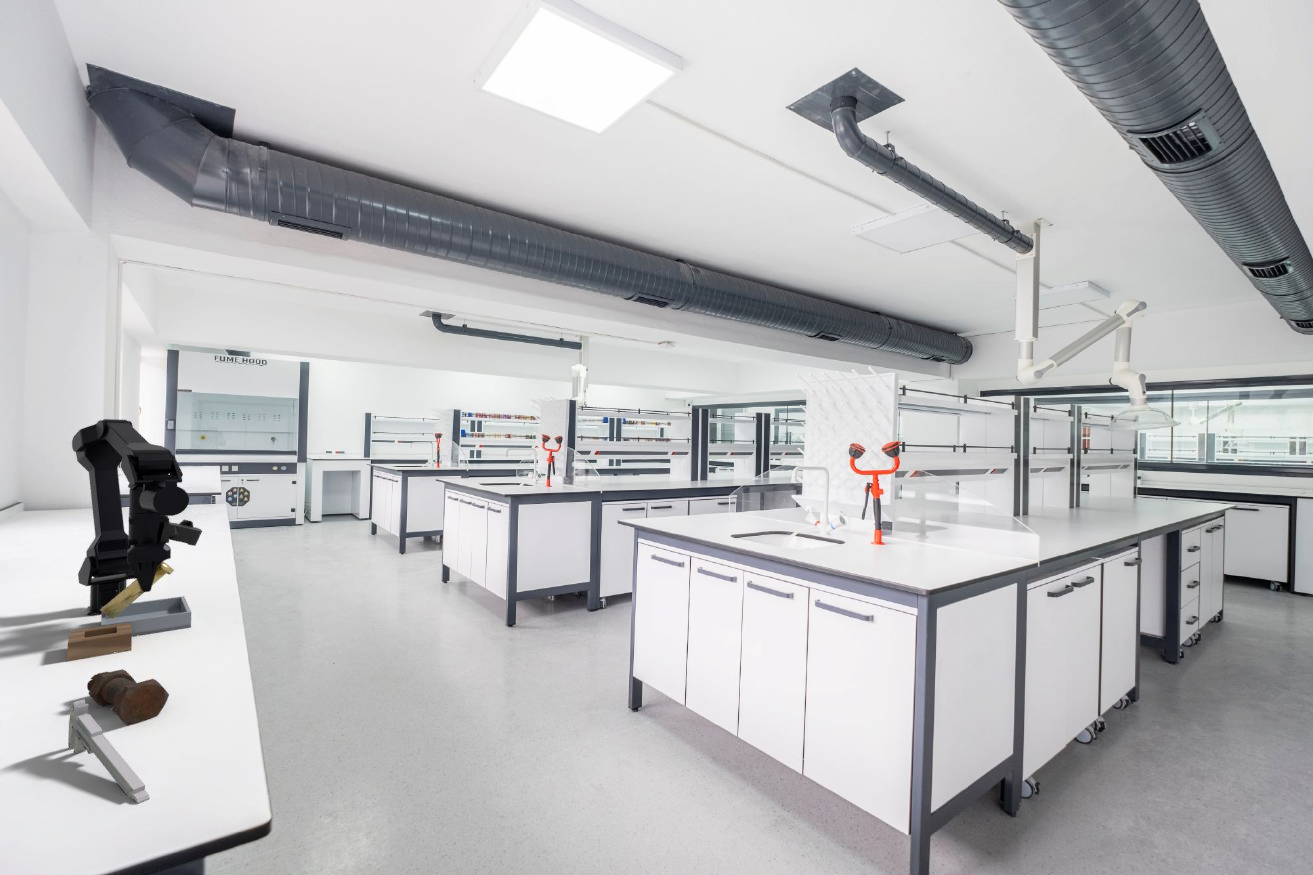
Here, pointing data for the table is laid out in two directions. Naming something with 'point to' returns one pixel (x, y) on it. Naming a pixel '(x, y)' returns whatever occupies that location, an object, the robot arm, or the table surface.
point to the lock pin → (132, 593)
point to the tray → (153, 616)
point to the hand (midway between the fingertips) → (146, 590)
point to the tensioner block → (99, 641)
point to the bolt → (128, 695)
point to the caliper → (102, 751)
